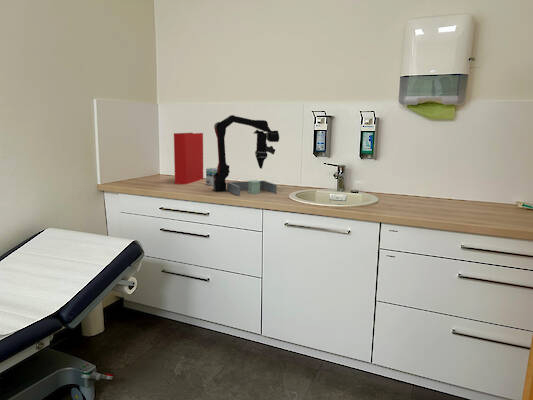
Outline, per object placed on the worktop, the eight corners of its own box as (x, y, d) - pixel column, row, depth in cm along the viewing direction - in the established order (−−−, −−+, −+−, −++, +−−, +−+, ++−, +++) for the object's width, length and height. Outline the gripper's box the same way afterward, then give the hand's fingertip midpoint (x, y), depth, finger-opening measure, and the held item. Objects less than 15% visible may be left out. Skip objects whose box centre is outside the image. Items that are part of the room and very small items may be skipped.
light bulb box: (213, 186, 246) (213, 169, 244) (205, 185, 250) (205, 168, 248) (224, 184, 254) (224, 167, 252) (217, 183, 258) (217, 166, 256)
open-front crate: (237, 195, 216) (238, 186, 215) (227, 190, 231) (227, 182, 230) (276, 193, 226) (276, 184, 225) (263, 188, 241) (263, 180, 240)
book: (192, 178, 278) (192, 132, 271) (203, 179, 275) (202, 133, 269) (173, 183, 252) (172, 133, 246) (185, 184, 250) (184, 133, 243)
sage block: (251, 194, 222) (251, 181, 221) (248, 192, 226) (248, 180, 225) (259, 193, 224) (259, 181, 223) (256, 192, 229) (256, 180, 227)
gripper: (276, 142, 224) (275, 169, 227) (273, 141, 243) (272, 166, 246) (257, 142, 223) (256, 169, 226) (255, 140, 242) (254, 165, 245)
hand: (260, 167), depth 236 cm, fingers open, 9 cm apart
